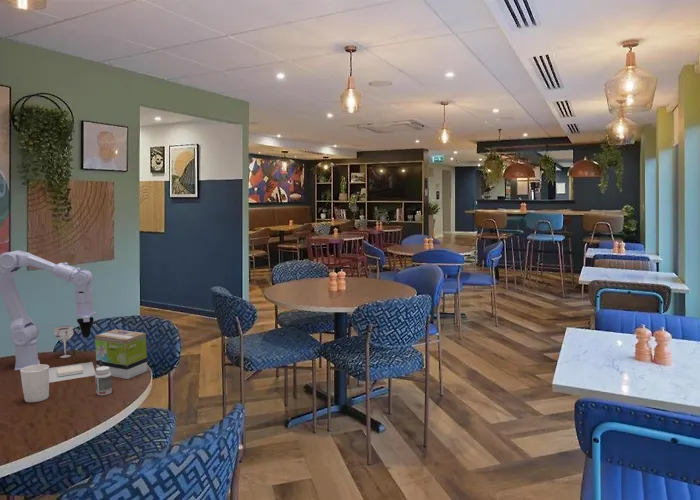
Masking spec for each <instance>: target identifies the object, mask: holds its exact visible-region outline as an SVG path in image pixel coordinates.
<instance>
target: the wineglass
mask: <svg viewBox="0 0 700 500" xmlns="http://www.w3.org/2000/svg"><path fill="white" fill-rule="evenodd" d="M73 328H74V326H73V325H62V326H61V325H60V326H56V327H54V328H53V330H54V333H53V334H54V337H55V338H56V339H57V340H59V341H62V343H63V350H64V351H63V352H64V355H62V356H60V358H61V359H62V358H63V359H65V358H69V357H71V356H72V355H71V354H67V350H66V349H67V347H66V345H67V344H66V343H67V341H68V340H69V339H71V338H72V337H73V335H74V329H73Z"/></svg>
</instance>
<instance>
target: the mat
mask: <svg viewBox="0 0 700 500" xmlns="http://www.w3.org/2000/svg"><path fill="white" fill-rule="evenodd" d="M76 365H82V368H83V374H76V375H70V376H64V377H58V373H57V368H63V367H69V366H76ZM95 375H96V368H95V366H94V364H93V361H89V362H81V363H75V364H69V365H61V366H56V367H55V366H53V367H49V384H50V383H55V382H56V383H57V382H62V381H67V380H73V379H74V380H75V379H80V378H88V377H95Z"/></svg>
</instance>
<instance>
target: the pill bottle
mask: <svg viewBox="0 0 700 500" xmlns="http://www.w3.org/2000/svg"><path fill="white" fill-rule="evenodd" d="M95 372H96V375H95V376H94V377H95V378H94V379H95V392H96V395H97V396H106V395H110V394H112V393H113V383H112V382H113V381H112V376H111V373H110V369H109V367H107V366H103V367H99V368H97V367H96V368H95Z"/></svg>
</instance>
